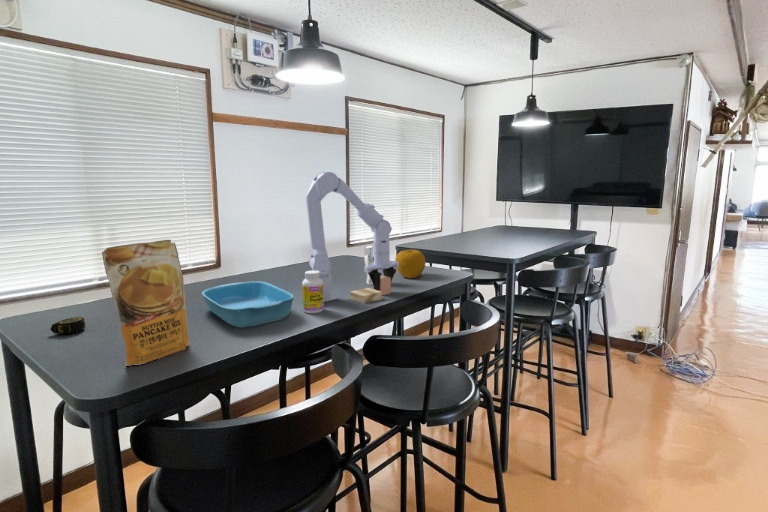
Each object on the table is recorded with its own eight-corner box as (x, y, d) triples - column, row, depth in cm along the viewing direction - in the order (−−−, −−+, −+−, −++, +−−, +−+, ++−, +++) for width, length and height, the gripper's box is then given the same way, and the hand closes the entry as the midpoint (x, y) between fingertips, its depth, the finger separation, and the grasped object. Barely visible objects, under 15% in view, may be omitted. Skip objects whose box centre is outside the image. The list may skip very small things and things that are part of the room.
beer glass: (383, 281, 185) (382, 244, 182) (381, 285, 178) (380, 247, 175) (366, 281, 185) (365, 245, 183) (363, 285, 179) (362, 247, 176)
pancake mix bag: (109, 366, 106) (93, 247, 101) (184, 340, 122) (173, 237, 117) (124, 372, 102) (109, 250, 97) (199, 345, 118) (189, 238, 113)
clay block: (381, 295, 163) (381, 279, 162) (373, 293, 167) (373, 277, 166) (390, 293, 166) (390, 277, 165) (383, 291, 170) (382, 275, 169)
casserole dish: (195, 307, 153) (194, 287, 152) (259, 296, 166) (258, 277, 165) (232, 337, 124) (230, 312, 123) (306, 321, 137) (305, 298, 136)
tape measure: (71, 327, 134) (69, 315, 134) (91, 328, 133) (90, 316, 132) (51, 336, 128) (49, 323, 127) (72, 336, 126) (70, 324, 126)
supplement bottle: (308, 315, 142) (306, 275, 140) (300, 310, 147) (298, 271, 145) (327, 311, 145) (326, 272, 143) (318, 306, 151) (317, 268, 149)
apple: (390, 278, 189) (390, 251, 187) (401, 272, 201) (401, 246, 199) (420, 281, 184) (420, 253, 182) (429, 274, 196) (429, 248, 194)
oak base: (363, 304, 154) (363, 296, 153) (350, 299, 160) (349, 291, 160) (382, 300, 159) (381, 291, 158) (368, 295, 165) (368, 287, 164)
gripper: (372, 256, 156) (373, 294, 159) (404, 251, 165) (404, 287, 168) (360, 253, 162) (361, 290, 164) (391, 249, 171) (391, 284, 173)
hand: (382, 289), depth 166 cm, fingers closed on clay block, 4 cm apart
